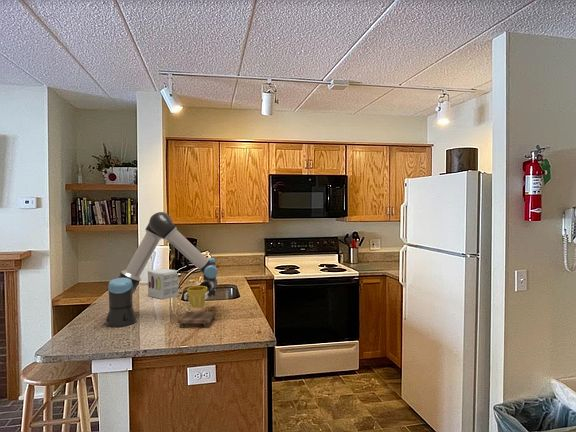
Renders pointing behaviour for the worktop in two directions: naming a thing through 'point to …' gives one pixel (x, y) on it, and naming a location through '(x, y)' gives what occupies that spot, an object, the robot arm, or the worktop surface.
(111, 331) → the worktop surface
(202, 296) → the plant pot
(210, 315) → the walnut stand
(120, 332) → the worktop surface
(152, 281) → the supplement box
